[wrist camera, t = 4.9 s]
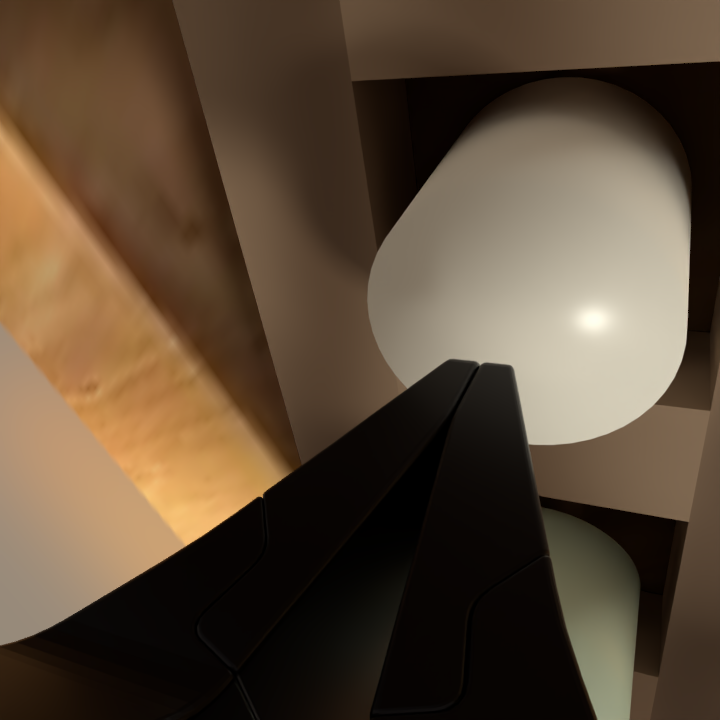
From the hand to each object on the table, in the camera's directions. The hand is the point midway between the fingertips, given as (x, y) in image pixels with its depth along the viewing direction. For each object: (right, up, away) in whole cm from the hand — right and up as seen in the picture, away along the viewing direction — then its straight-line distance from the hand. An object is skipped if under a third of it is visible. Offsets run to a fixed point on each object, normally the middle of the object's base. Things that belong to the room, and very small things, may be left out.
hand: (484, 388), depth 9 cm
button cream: (+2, +3, +4) cm, 6 cm away
